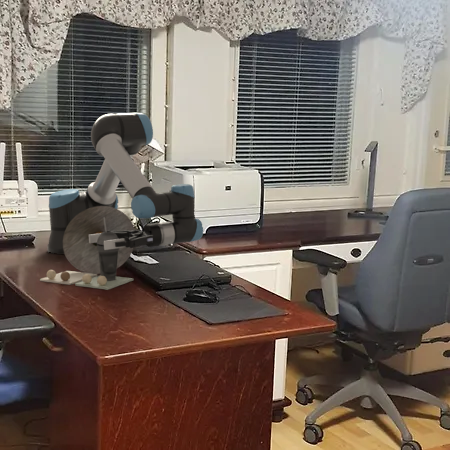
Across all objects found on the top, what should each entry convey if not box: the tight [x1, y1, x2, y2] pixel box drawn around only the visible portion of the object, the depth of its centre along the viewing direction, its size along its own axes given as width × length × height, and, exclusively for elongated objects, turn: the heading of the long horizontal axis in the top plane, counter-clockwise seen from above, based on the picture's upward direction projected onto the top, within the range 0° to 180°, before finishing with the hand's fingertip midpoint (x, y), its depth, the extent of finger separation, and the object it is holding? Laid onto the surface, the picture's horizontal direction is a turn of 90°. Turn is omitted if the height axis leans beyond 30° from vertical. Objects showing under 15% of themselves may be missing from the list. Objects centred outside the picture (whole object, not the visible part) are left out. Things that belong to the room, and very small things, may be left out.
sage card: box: [74, 274, 134, 291], centre depth 235 cm, size 13×13×4 cm
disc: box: [63, 206, 136, 275], centre depth 258 cm, size 25×18×25 cm
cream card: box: [39, 269, 98, 286], centre depth 243 cm, size 13×13×4 cm
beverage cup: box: [97, 217, 119, 281], centre depth 235 cm, size 7×7×20 cm
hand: (96, 242), depth 233 cm, fingers open, 13 cm apart
